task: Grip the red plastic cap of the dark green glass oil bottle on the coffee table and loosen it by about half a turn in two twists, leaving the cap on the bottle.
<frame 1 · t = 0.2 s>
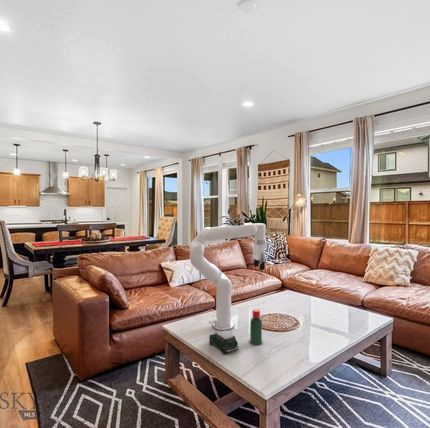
hand: (259, 268, 194), 36 cm above the table, tool pointing down, fingers open, 9 cm apart
miniature car: (223, 346, 163), on the table
cap: (256, 310, 168), point 18 cm above the table, screwed on, not yet turned
bottle: (255, 342, 168), on the table
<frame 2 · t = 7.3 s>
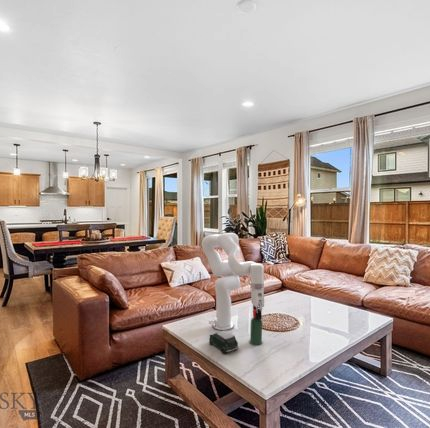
hand: (257, 317, 167), 15 cm above the table, tool pointing down, fingers closed on cap, 4 cm apart
cap: (257, 311, 167), point 18 cm above the table, turned 89° so far, risen 0.1 cm, still on its thread, touching gripper
everything else where it was.
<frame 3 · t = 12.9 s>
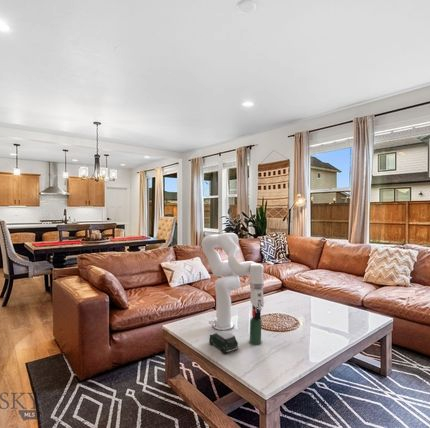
hand: (256, 317, 168), 14 cm above the table, tool pointing down, fingers closed on cap, 3 cm apart
cap: (256, 310, 168), point 18 cm above the table, turned 89° so far, risen 0.1 cm, still on its thread, touching gripper
bottle: (255, 341, 169), on the table, touching gripper
everything else where it was.
when the fingers open (16 cm above the table, at t = 20.9 s): cap stays where it is, point 18 cm above the table.
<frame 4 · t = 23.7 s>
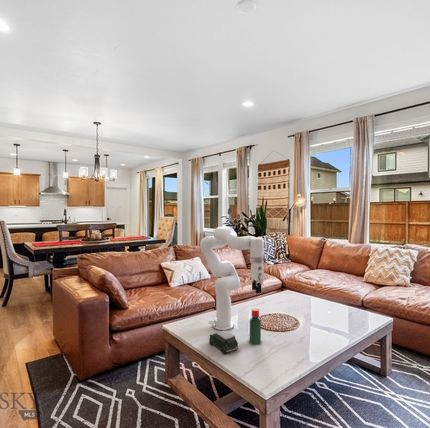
hand: (256, 291, 167), 29 cm above the table, tool pointing down, fingers open, 5 cm apart
cap: (255, 310, 168), point 18 cm above the table, turned 179° so far, risen 0.2 cm, still on its thread
bottle: (255, 341, 169), on the table
everything else where it was.
at the end: cap turned 0.50 turns (still on its thread); bottle tilted 0° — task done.
